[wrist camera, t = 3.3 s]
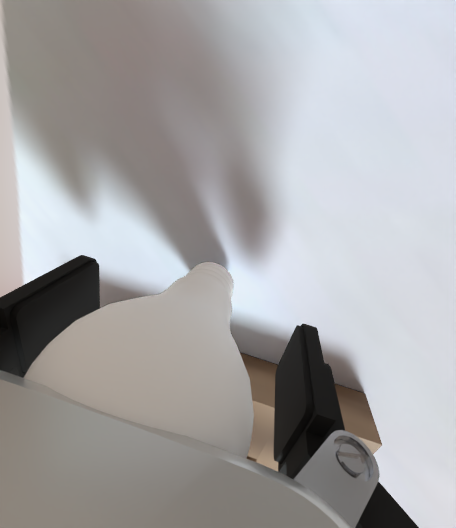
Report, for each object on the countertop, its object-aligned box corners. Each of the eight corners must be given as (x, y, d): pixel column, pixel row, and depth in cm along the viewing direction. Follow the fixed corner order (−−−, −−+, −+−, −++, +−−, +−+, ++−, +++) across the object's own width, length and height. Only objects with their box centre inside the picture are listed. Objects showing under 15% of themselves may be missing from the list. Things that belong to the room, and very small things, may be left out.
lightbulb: (194, 200, 12) (-136, 395, 3) (292, 267, 13) (321, 645, 3) (148, 283, 15) (-93, 526, 5) (230, 335, 16) (143, 647, 6)
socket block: (103, 307, 17) (69, 337, 14) (365, 393, 15) (382, 444, 13) (105, 444, 25) (84, 479, 22) (275, 508, 24) (274, 554, 21)
